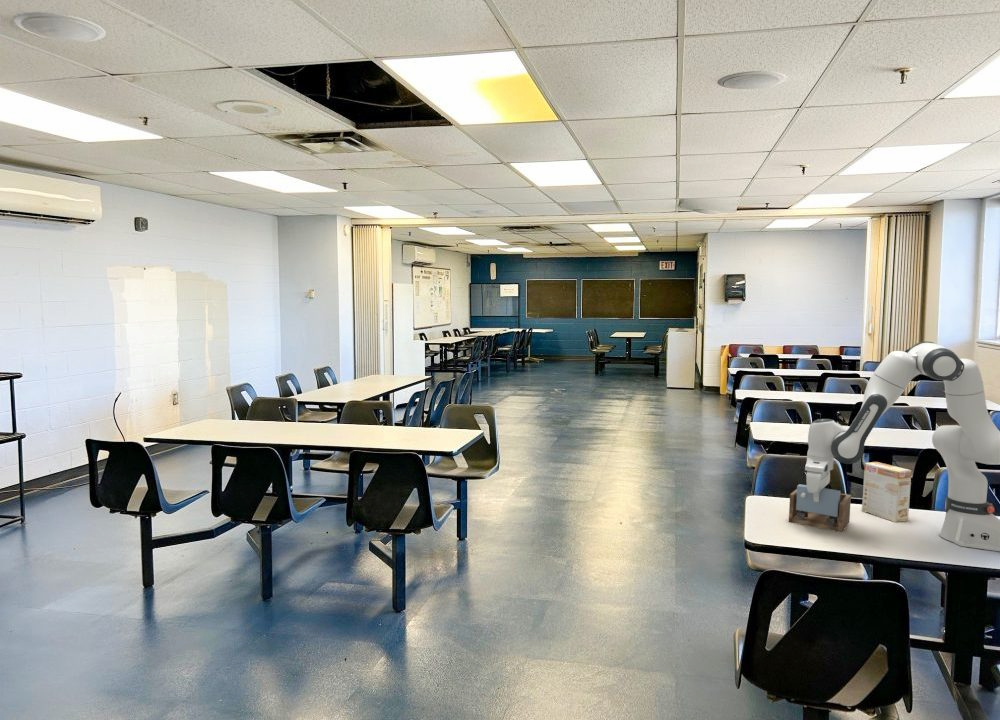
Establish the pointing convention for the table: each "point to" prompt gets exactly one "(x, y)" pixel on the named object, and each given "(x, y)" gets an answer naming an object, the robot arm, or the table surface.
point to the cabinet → (821, 515)
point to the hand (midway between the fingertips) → (817, 500)
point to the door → (826, 504)
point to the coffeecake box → (886, 491)
